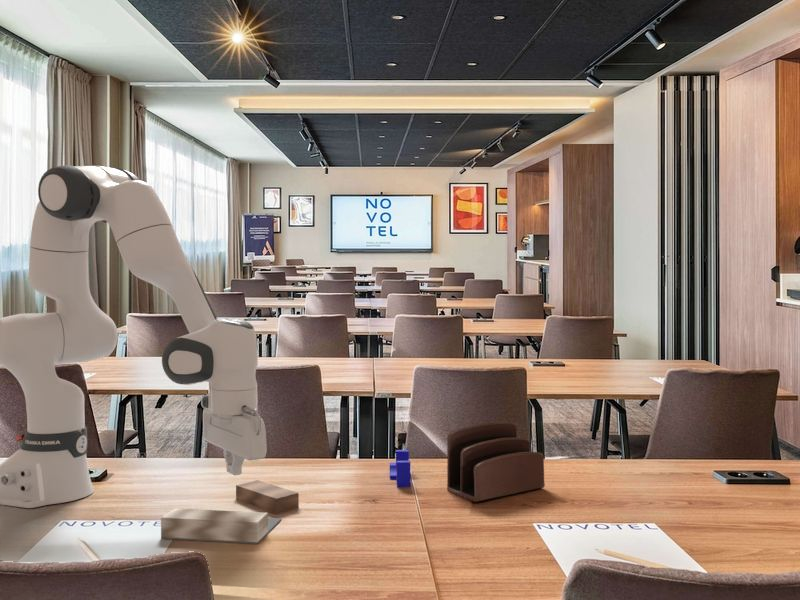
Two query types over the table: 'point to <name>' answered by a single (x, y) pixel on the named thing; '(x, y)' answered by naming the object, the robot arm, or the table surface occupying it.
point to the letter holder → (491, 462)
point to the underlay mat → (271, 524)
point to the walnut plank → (268, 496)
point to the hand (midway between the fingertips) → (234, 473)
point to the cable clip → (401, 468)
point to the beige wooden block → (214, 525)
